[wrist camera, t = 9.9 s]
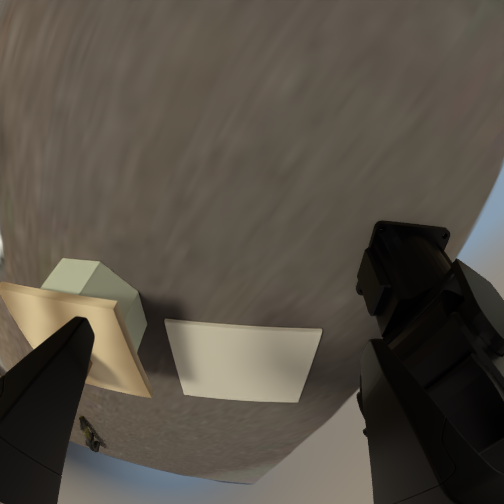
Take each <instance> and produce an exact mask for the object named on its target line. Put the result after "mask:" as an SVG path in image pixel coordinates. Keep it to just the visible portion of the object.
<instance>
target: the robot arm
mask: <svg viewBox="0 0 504 504" xmlns="http://www.w3.org/2000/svg"><path fill="white" fill-rule="evenodd" d="M381 227H384V228H383V229H382V230H379V229H380V228H381ZM443 234H445V235H444V236H443ZM449 237H450V232H449V231H448V230H447V228H443V227H435V226H427V225H419V224H410V223H401V222H391V221H378V222H377V223H376V224H375V226H374V229H373V233H372V236H371V240H370V243H369V247H368V248H367V249H366V250H365V252H364V255H363V258H362V262H361V265H360V268H359V272H358V275H357V278H358V283H357V286H356V291H357V293H358V294H359V295H363V296H364V299H365V302H366V306H367V309H368V312H369V314H370V315H371V316H376V318H377V322H378V325H379V328H380V331H381V335H382V337H384V338H383V339H370V340H369V341H368V343H367V345H366V347H365V349H364V351H363V353H362V355H361V375H360V392H358V393H357V401H358V404H359V408H360V411H361V413H362V415H363V417H364V419H365V423H366V428H365V429H364V430H363V433H364V435H366V437H367V438H368V446H369V455H370V464H371V474H372V486H373V499H374V504H504V300H503V299H502V297H501V296H500V295H499V293H498V292H497V290H496V289H495V288H494V287H493V285H492V284H491V283H490V282H489V281H487V280H486V279H485V278H483V277H482V276H481V275H480V274H478V273H477V272H475V271H474V270H473V269H471V268H470V267H469V266H467V265H466V264H464V263H463V262H462V261H460V260H459V259H457V258H456V259H455V261H454V262H453V263H452V262H451V260H450V259H449V257H448V256H447V254H446V253H445V251H444V250H445V247H446V245H447V242H448V240H449ZM94 341H95V334H94V331H93V329H92V327H91V325H90V323H89V321H88V319H87V318H86V317H81V316H75V317H74V318H72V319H71V320H70V321H68V322H67V323H66V324H65V325H63V326H62V327H61V328H60V329H58V330H57V331H56V332H55V333H53V334H52V335H51V336H50V337H48V338H47V339H46V340H45V341H44V342H42V343H41V344H40V345H39V346H37V347H36V348H35V349H34V350H33V351H31V352H30V353H29V354H28V355H27V356H25V357H24V358H23V359H22V360H21V361H20V362H18V363H17V364H16V365H15V366H14V367H13V368H11V369H10V370H9V371H8V372H7V373H6V374H5V375H3V376H2V377H1V378H0V504H57V502H58V495H59V488H60V483H61V478H62V476H61V475H62V472H63V467H64V462H65V457H66V452H67V448H68V443H69V439H70V435H71V431H72V427H73V423H74V419H75V416H76V412H77V408H78V405H79V401H80V398H81V394H82V391H83V388H84V384H85V381H86V377H87V373H88V368H89V363H90V359H91V354H92V350H93V345H94Z"/></svg>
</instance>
